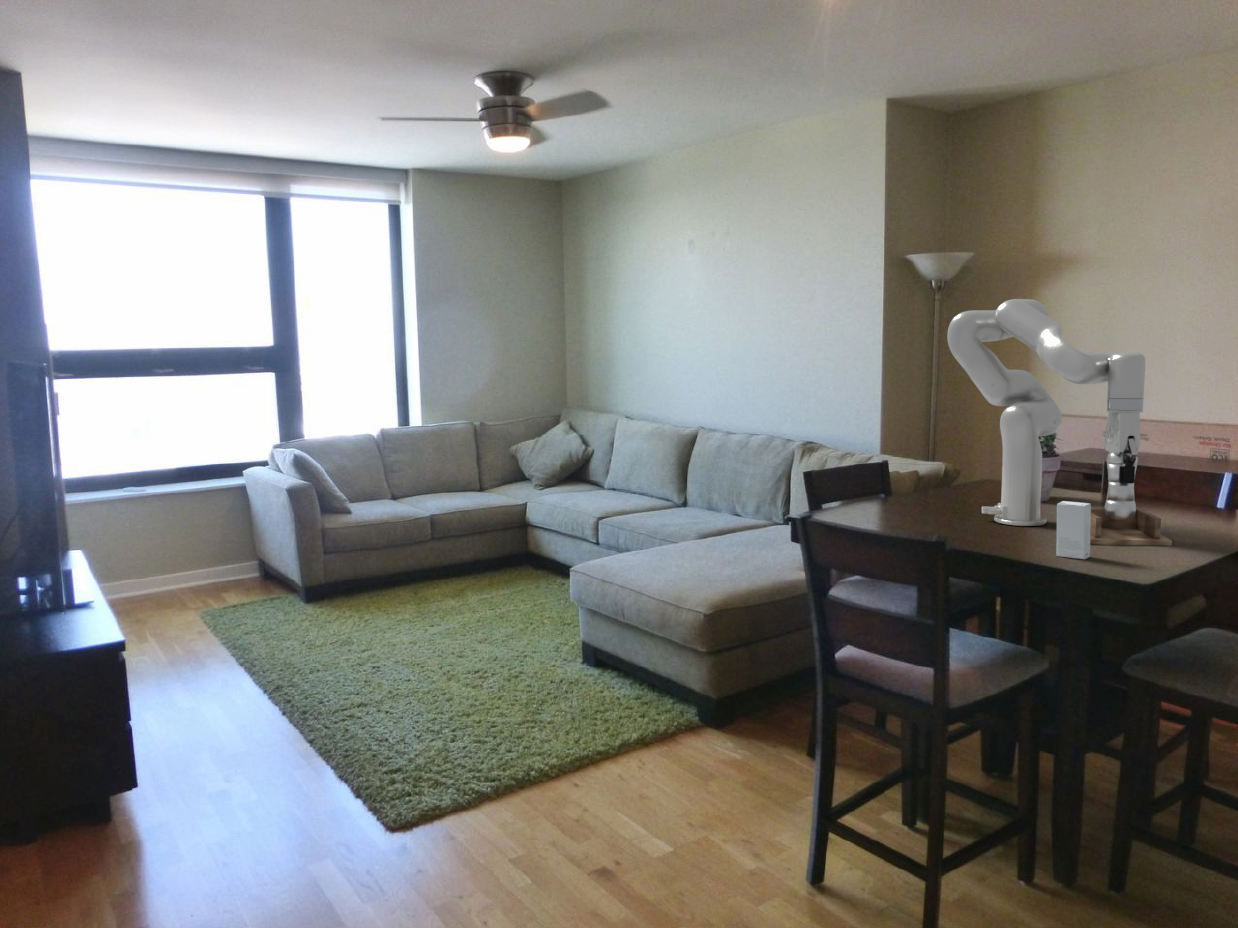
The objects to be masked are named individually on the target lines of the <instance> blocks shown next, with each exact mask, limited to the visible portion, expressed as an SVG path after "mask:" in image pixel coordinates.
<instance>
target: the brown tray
mask: <svg viewBox="0 0 1238 928" xmlns="http://www.w3.org/2000/svg"><path fill="white" fill-rule="evenodd" d="M1104 508H1105V507H1104ZM1104 508H1103V507H1101V508H1099V507H1091V526H1090V545H1097V546H1098V545H1101V546H1102V545H1103V546H1105V545H1106V546H1108V545H1109V546H1110V545H1112V546H1113V545H1114V546H1156V547H1157V546H1159V547H1163V546H1165V547H1166V546H1167V547H1170V546H1171V547H1172V544H1173V541H1172V539H1169V538H1168V537H1166V536H1164V535H1162V534H1161V526H1162V518H1160V517H1158V516H1156V515H1155V514H1152V513H1150V512H1147V511H1146V510H1143V509H1142V508H1136V513H1135V516H1134V517H1133V518H1132V519H1128V520H1115V519H1112V518H1108V517H1107V516H1106V514H1105V509H1104Z"/></svg>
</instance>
